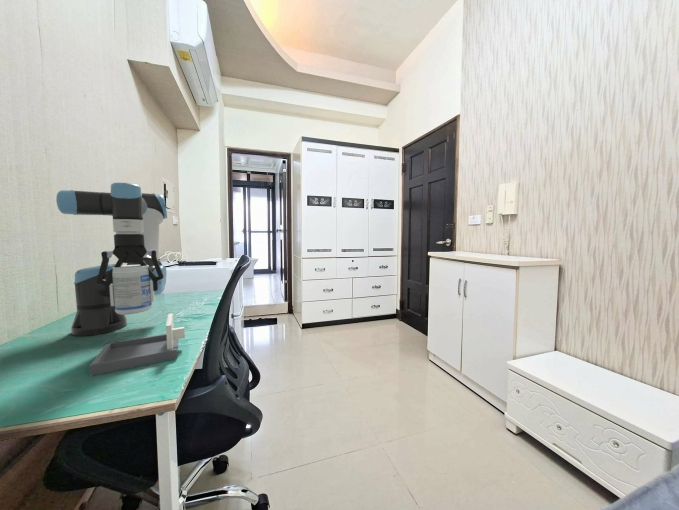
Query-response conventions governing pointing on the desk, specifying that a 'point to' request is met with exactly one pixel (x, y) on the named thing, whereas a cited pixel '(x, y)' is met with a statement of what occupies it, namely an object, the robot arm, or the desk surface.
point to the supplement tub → (131, 289)
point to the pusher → (173, 332)
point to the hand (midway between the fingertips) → (133, 302)
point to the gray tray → (133, 354)
